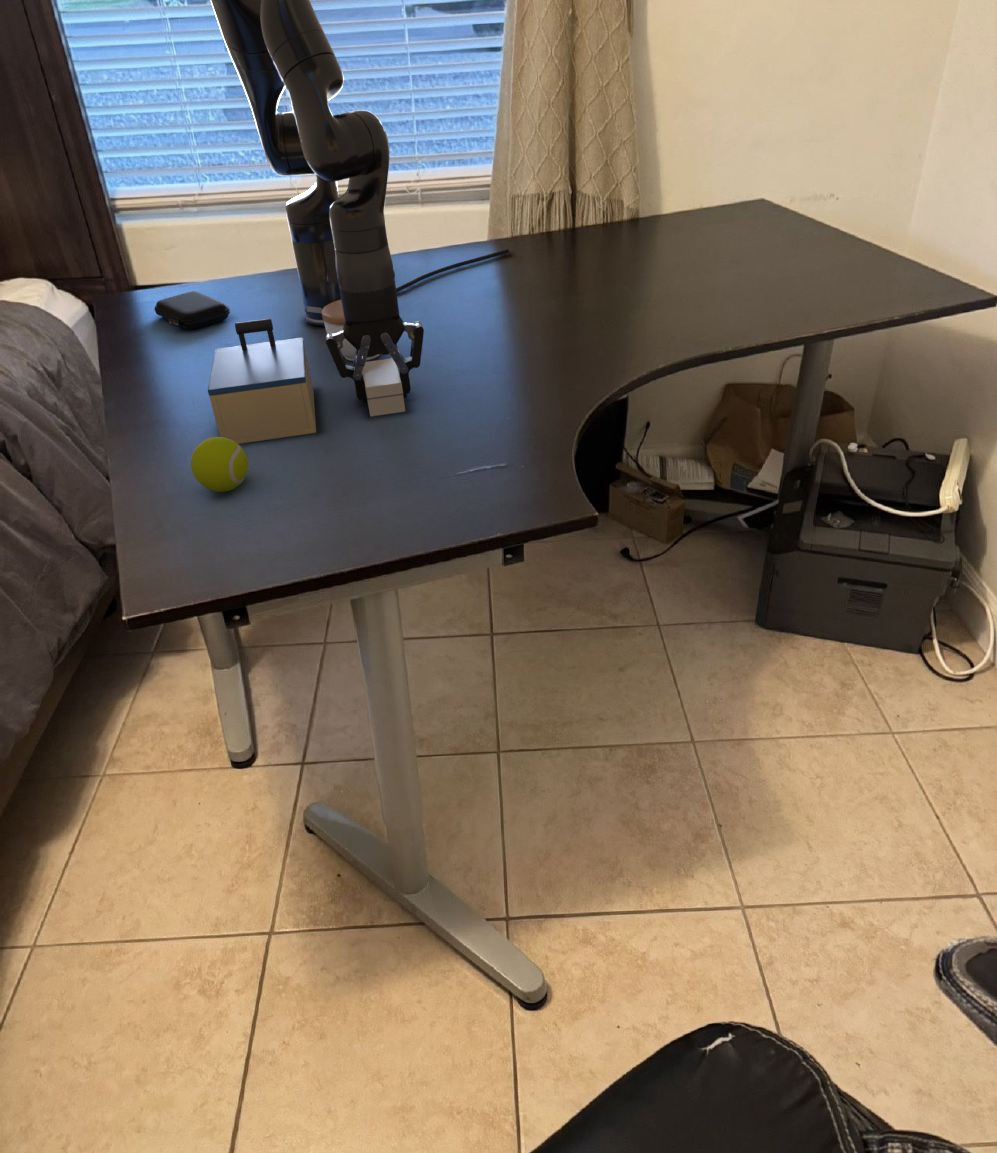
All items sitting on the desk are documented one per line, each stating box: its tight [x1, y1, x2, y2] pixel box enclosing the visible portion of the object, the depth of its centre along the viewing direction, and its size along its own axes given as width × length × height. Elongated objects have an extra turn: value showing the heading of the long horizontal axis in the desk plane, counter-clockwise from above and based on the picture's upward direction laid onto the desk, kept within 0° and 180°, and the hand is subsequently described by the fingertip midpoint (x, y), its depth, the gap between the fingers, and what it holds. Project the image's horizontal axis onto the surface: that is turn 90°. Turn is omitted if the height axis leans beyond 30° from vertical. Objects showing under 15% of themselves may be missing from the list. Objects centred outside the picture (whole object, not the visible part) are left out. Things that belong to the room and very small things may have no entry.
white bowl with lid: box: [322, 300, 380, 362], centre depth 139 cm, size 11×11×9 cm
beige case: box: [362, 357, 406, 418], centre depth 125 cm, size 10×5×4 cm, turn 11°
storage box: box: [208, 345, 317, 445], centre depth 122 cm, size 15×13×7 cm
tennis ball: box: [190, 436, 249, 493], centre depth 106 cm, size 7×7×7 cm
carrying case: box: [154, 290, 231, 330], centre depth 161 cm, size 11×3×15 cm
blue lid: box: [207, 318, 306, 396], centre depth 119 cm, size 15×13×5 cm
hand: (384, 398), depth 126 cm, fingers closed on beige case, 5 cm apart
